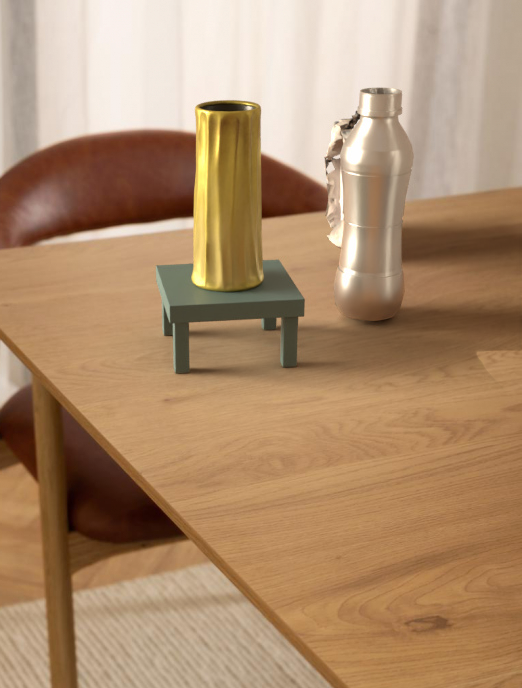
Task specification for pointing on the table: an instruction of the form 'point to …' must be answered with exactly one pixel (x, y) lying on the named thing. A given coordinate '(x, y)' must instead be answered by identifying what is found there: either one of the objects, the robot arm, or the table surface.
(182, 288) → the stool
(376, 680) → the table surface
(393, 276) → the silver water bottle
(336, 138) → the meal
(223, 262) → the vase
